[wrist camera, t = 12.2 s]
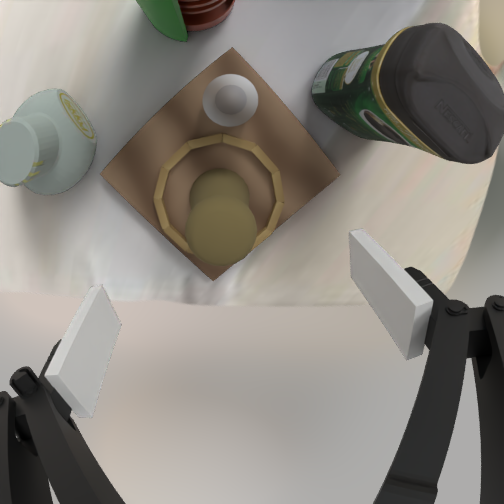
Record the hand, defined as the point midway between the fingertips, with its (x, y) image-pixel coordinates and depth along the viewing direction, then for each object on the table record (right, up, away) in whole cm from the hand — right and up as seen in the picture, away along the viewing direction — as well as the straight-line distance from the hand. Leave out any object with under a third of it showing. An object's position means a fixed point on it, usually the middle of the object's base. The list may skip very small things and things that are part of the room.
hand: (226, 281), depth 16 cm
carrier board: (-2, +10, +16) cm, 19 cm away
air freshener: (-19, +14, +12) cm, 27 cm away
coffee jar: (+12, +18, +14) cm, 26 cm away
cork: (-2, +7, +16) cm, 17 cm away
